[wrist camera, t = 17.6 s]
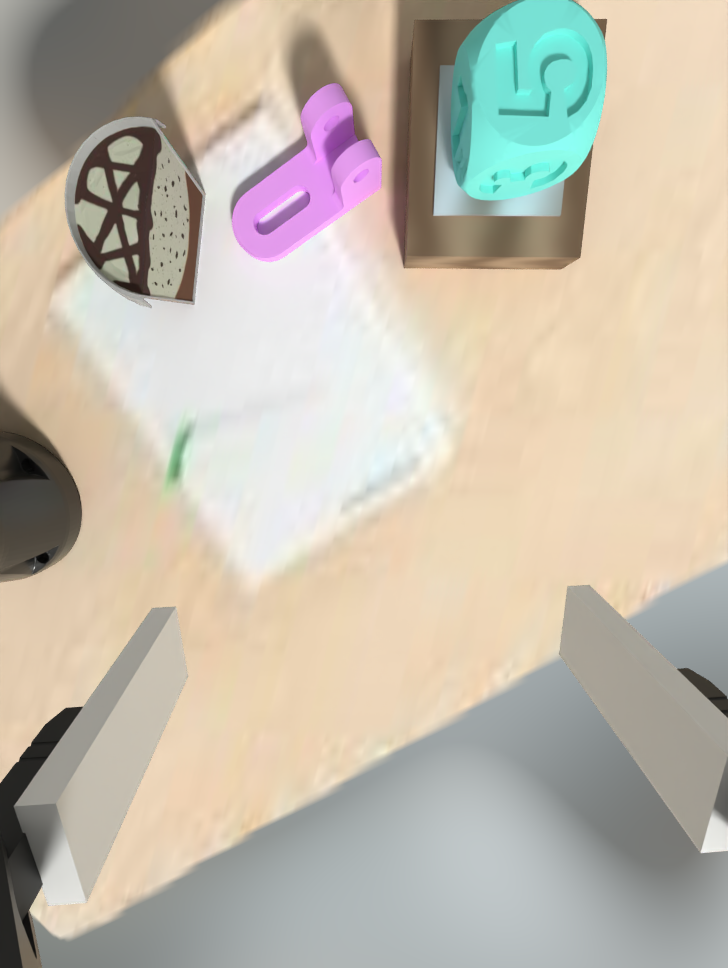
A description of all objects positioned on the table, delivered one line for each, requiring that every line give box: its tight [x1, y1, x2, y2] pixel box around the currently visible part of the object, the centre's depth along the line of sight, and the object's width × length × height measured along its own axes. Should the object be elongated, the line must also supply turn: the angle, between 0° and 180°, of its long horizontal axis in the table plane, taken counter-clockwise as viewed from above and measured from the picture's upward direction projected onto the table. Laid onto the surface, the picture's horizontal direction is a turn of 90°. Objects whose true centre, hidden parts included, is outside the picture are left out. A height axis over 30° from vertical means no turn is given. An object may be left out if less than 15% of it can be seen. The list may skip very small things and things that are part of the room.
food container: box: [65, 117, 205, 308], centre depth 36 cm, size 12×6×10 cm, turn 169°
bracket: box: [232, 83, 382, 262], centre depth 37 cm, size 13×6×7 cm, turn 122°
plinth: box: [404, 19, 607, 269], centre depth 37 cm, size 14×16×4 cm
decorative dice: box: [451, 0, 607, 200], centre depth 31 cm, size 8×8×8 cm
